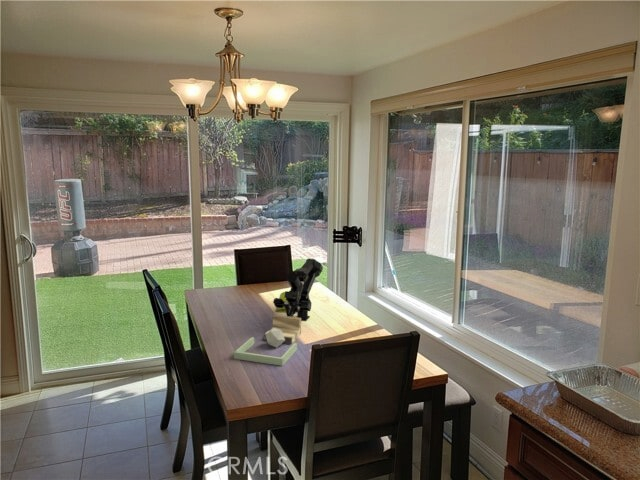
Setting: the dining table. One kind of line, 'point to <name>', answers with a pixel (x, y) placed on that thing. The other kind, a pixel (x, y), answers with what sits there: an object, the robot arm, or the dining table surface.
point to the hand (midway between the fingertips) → (287, 319)
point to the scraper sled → (287, 327)
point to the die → (275, 337)
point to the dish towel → (283, 300)
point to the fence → (243, 355)
